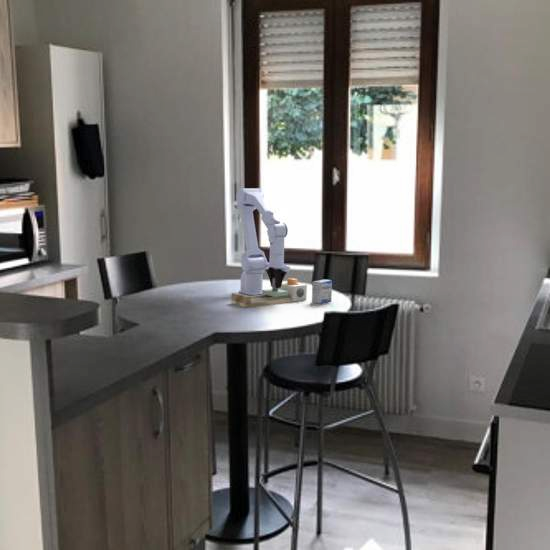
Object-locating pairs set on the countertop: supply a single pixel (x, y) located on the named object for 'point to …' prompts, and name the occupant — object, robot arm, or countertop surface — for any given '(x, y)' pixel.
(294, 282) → the button
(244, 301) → the rail track
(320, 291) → the medicine box
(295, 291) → the end cabinet
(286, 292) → the carriage
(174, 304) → the countertop surface
